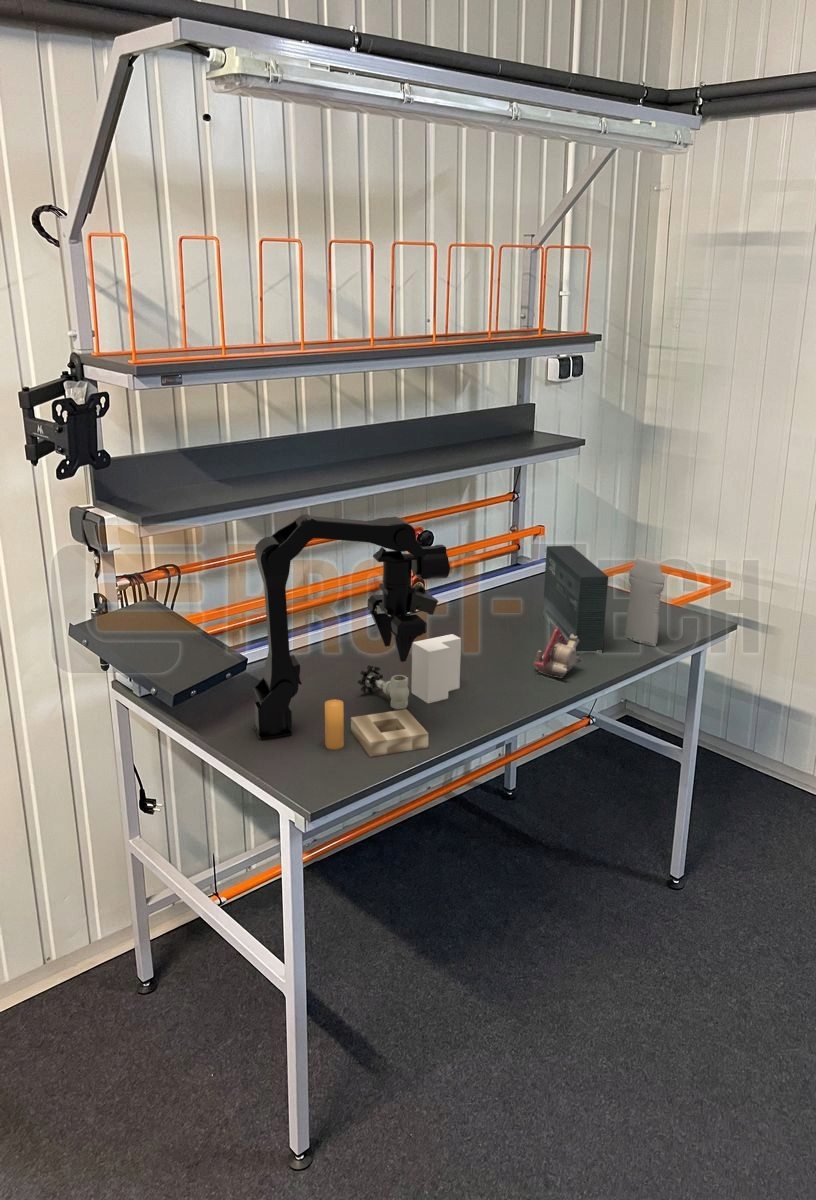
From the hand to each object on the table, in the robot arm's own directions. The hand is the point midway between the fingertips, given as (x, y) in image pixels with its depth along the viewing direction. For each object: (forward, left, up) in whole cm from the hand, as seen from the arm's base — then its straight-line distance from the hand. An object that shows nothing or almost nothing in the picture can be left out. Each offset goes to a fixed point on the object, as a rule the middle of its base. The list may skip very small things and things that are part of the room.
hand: (395, 653), depth 198 cm
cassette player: (+61, +32, -14) cm, 71 cm away
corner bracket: (+13, +10, -14) cm, 22 cm away
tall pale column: (+75, +21, -14) cm, 79 cm away
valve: (+1, +8, -14) cm, 17 cm away
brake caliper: (+44, +10, -14) cm, 48 cm away
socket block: (-5, -10, -14) cm, 18 cm away
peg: (-16, -9, -14) cm, 23 cm away
